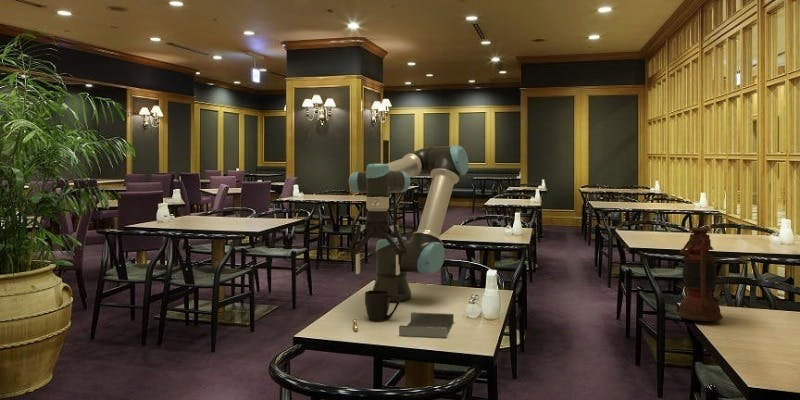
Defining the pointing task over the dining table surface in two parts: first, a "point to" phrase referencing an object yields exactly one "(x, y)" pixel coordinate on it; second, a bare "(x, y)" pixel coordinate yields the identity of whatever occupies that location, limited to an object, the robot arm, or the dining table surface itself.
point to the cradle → (428, 325)
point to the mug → (379, 305)
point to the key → (355, 325)
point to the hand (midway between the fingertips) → (377, 274)
